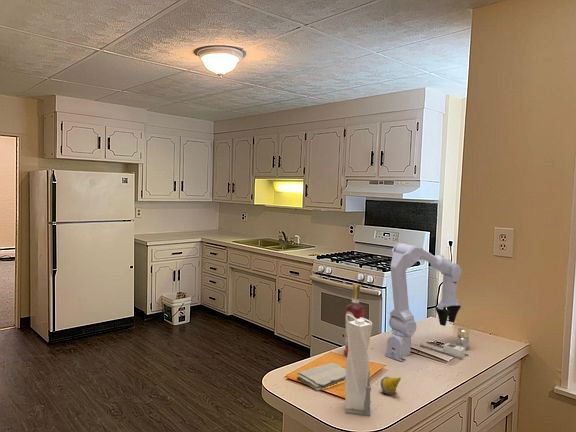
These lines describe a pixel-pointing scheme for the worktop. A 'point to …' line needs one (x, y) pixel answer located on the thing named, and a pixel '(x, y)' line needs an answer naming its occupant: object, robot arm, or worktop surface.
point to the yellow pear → (389, 385)
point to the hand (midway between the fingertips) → (447, 323)
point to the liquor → (353, 311)
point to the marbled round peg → (463, 338)
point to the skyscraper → (358, 367)
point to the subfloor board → (441, 351)
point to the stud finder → (454, 350)
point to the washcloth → (322, 376)
